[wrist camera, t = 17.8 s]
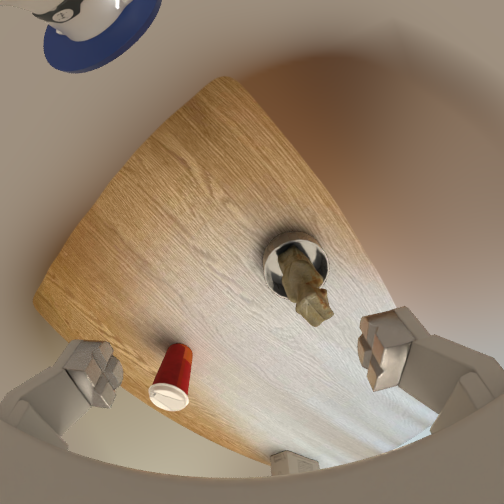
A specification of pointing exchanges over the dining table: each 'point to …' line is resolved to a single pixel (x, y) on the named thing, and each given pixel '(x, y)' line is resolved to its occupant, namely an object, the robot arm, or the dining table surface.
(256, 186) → the dining table surface
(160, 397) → the paper cup
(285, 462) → the cereal box
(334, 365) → the dining table surface
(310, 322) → the sculpture
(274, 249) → the grey metal round dish
